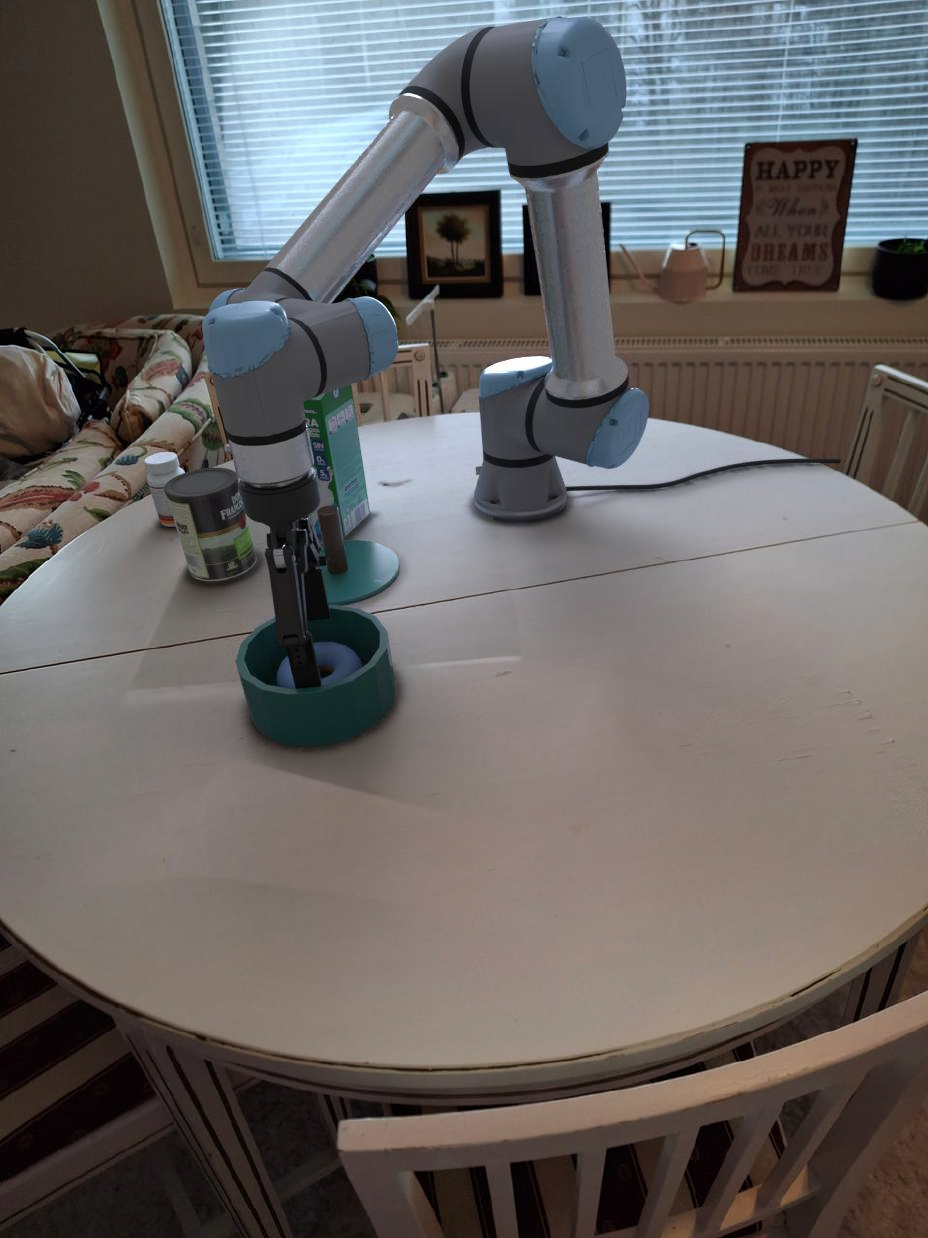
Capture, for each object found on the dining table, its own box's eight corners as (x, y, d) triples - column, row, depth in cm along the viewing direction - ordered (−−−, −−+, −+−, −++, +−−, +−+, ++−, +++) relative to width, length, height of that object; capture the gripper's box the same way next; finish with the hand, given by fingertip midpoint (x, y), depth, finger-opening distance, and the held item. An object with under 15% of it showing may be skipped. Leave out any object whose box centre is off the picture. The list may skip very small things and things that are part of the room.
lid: (400, 541, 125) (392, 478, 119) (399, 603, 110) (390, 534, 104) (285, 552, 125) (272, 488, 119) (270, 615, 110) (253, 546, 104)
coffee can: (268, 551, 125) (249, 467, 117) (240, 586, 117) (217, 497, 109) (208, 548, 127) (185, 465, 119) (176, 582, 119) (149, 495, 111)
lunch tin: (395, 649, 101) (388, 599, 97) (394, 739, 87) (386, 685, 83) (262, 661, 101) (249, 611, 97) (240, 753, 87) (223, 700, 83)
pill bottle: (193, 508, 140) (176, 447, 134) (200, 522, 135) (183, 459, 129) (157, 517, 138) (138, 455, 132) (163, 531, 133) (143, 468, 127)
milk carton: (295, 533, 130) (263, 379, 116) (324, 509, 136) (297, 361, 122) (344, 540, 126) (317, 383, 112) (371, 515, 133) (348, 364, 119)
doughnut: (343, 725, 88) (337, 692, 86) (263, 711, 91) (256, 678, 89) (379, 673, 96) (375, 641, 94) (305, 662, 99) (299, 631, 97)
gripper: (256, 431, 88) (293, 595, 100) (213, 535, 68) (265, 725, 80) (324, 425, 88) (353, 590, 100) (301, 527, 68) (340, 718, 80)
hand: (314, 650), depth 90 cm, fingers open, 12 cm apart
